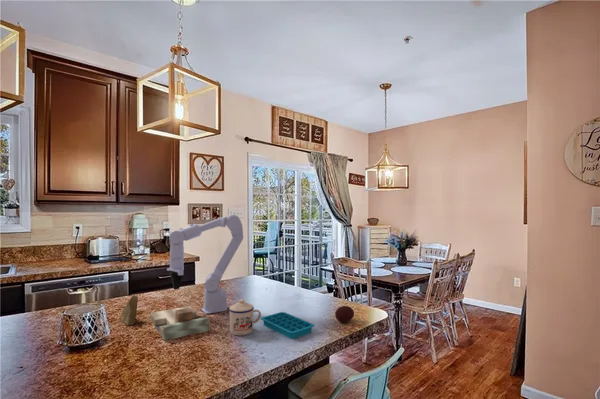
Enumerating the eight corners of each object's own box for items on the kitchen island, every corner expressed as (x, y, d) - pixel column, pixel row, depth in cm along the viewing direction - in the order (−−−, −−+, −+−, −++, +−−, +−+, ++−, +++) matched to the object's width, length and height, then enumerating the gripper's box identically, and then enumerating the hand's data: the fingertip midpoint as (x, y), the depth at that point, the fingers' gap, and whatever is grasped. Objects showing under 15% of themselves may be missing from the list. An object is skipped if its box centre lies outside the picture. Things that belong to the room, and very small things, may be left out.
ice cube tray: (291, 341, 111) (291, 333, 111) (259, 325, 127) (259, 317, 127) (316, 333, 119) (316, 325, 119) (282, 318, 134) (282, 311, 134)
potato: (357, 320, 131) (357, 305, 131) (345, 326, 124) (345, 311, 124) (342, 316, 136) (342, 302, 136) (329, 322, 129) (329, 307, 129)
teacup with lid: (231, 337, 114) (231, 304, 114) (227, 328, 122) (227, 298, 123) (264, 332, 119) (264, 300, 119) (257, 324, 127) (257, 294, 127)
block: (188, 320, 124) (189, 307, 124) (192, 325, 120) (192, 311, 120) (175, 323, 121) (175, 310, 121) (178, 327, 117) (178, 313, 117)
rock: (140, 319, 126) (149, 308, 136) (125, 303, 124) (135, 293, 134) (118, 336, 125) (127, 324, 135) (102, 320, 124) (114, 309, 134)
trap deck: (189, 311, 142) (189, 301, 142) (209, 330, 121) (209, 318, 121) (150, 319, 133) (150, 308, 133) (164, 340, 112) (164, 327, 112)
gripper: (163, 256, 145) (163, 286, 145) (171, 261, 133) (170, 294, 133) (179, 255, 149) (179, 284, 149) (188, 259, 137) (188, 291, 137)
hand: (176, 288), depth 141 cm, fingers closed
